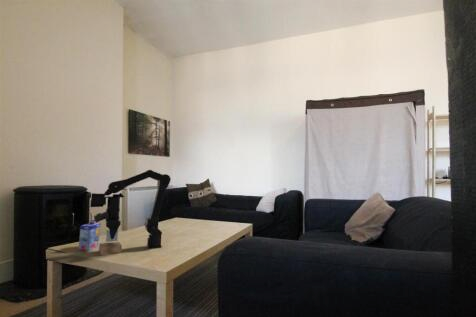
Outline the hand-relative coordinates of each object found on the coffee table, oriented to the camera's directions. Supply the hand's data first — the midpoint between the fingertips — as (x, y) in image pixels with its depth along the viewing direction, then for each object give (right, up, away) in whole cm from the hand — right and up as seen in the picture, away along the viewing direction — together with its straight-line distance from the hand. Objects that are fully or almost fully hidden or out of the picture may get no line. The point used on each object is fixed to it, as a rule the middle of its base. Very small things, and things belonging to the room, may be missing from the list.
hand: (111, 237), depth 129 cm
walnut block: (0, -7, -1) cm, 7 cm away
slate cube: (0, -1, 0) cm, 1 cm away
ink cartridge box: (-15, -7, +6) cm, 18 cm away
